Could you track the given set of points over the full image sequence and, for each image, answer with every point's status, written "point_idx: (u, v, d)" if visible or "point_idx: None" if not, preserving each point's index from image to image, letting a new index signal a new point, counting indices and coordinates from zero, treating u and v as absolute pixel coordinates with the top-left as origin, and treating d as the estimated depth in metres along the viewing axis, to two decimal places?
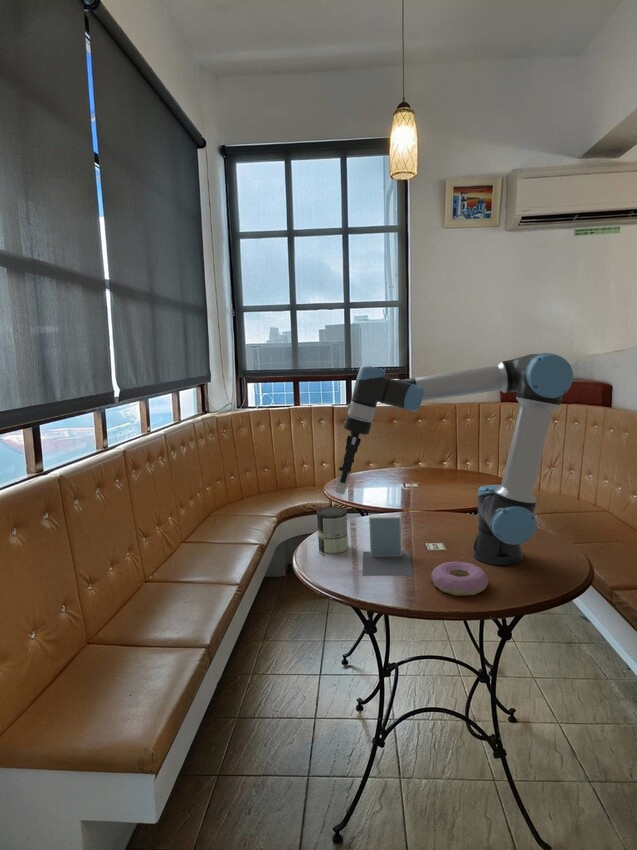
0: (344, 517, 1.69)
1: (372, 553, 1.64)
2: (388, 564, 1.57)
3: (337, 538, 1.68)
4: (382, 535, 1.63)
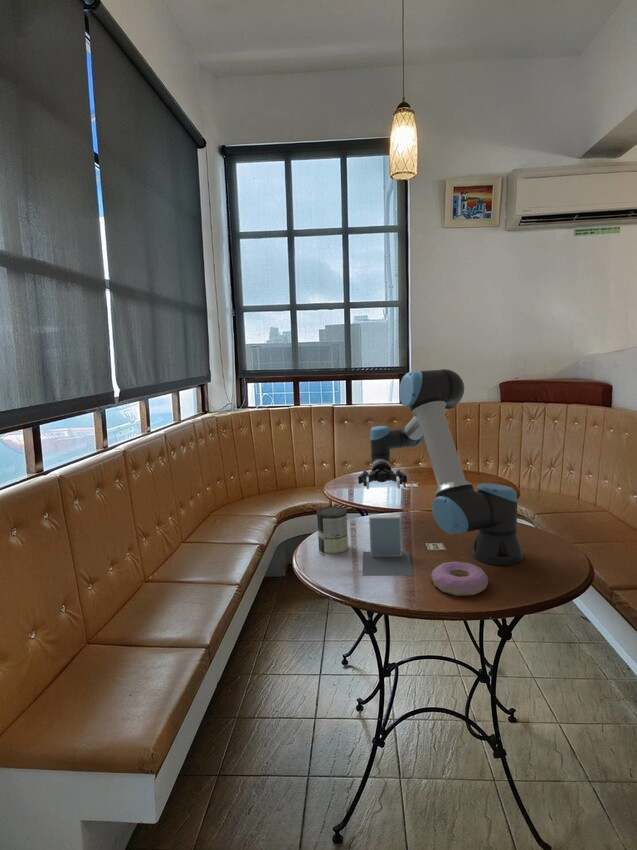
0: (344, 517, 1.69)
1: (372, 553, 1.64)
2: (388, 564, 1.57)
3: (337, 538, 1.68)
4: (382, 535, 1.63)
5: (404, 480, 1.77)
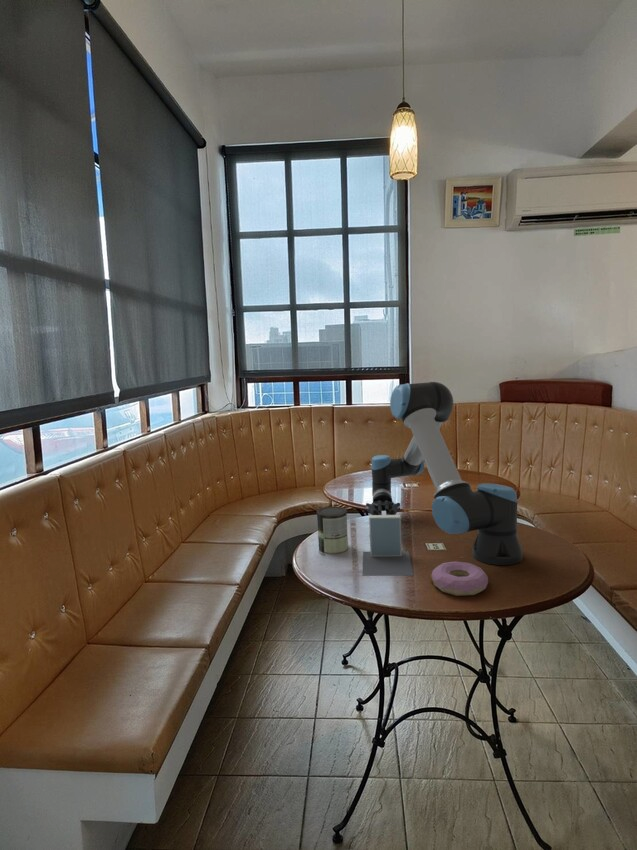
0: (344, 517, 1.69)
1: (372, 553, 1.64)
2: (388, 564, 1.57)
3: (337, 538, 1.68)
4: (382, 535, 1.63)
5: (391, 514, 1.78)
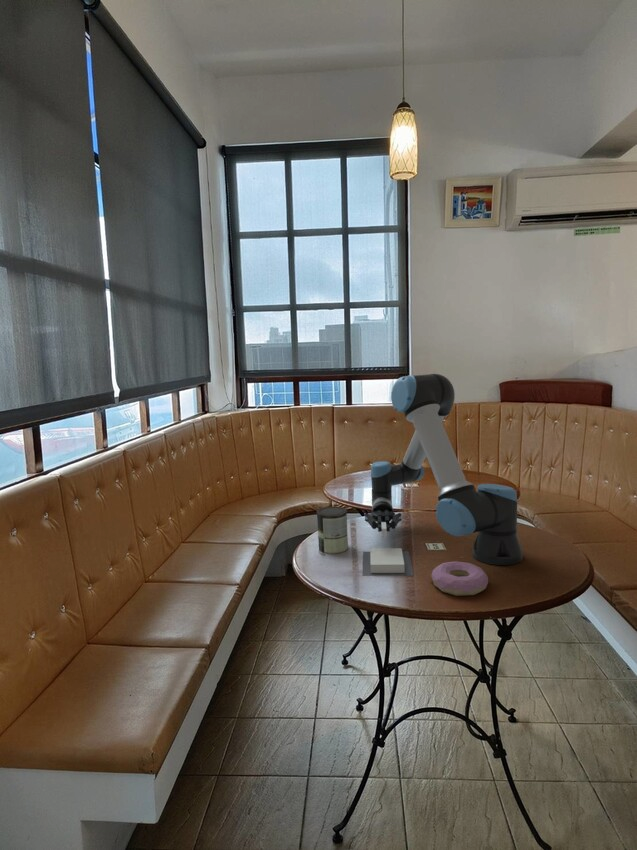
0: (344, 517, 1.69)
1: None
2: None
3: (337, 538, 1.68)
4: None
5: (392, 526, 1.66)
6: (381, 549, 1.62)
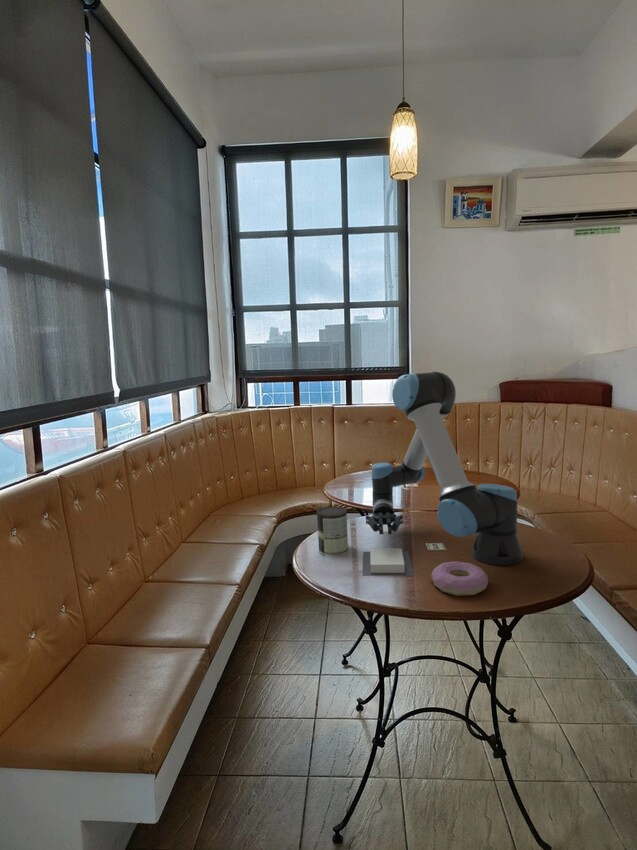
0: (344, 517, 1.69)
1: None
2: None
3: (337, 538, 1.68)
4: None
5: (393, 529, 1.63)
6: (381, 549, 1.62)
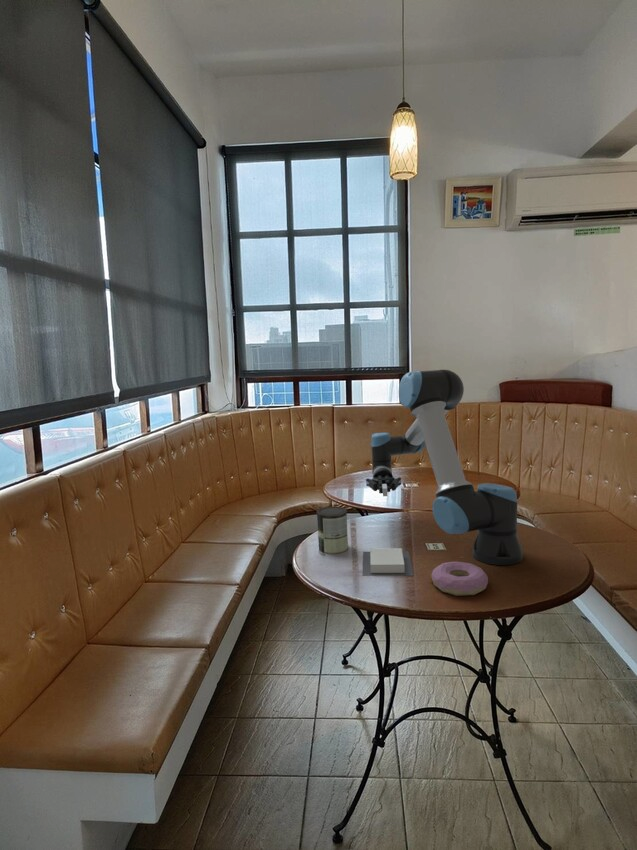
0: (344, 517, 1.69)
1: None
2: None
3: (337, 538, 1.68)
4: None
5: (392, 488, 1.74)
6: (381, 549, 1.62)
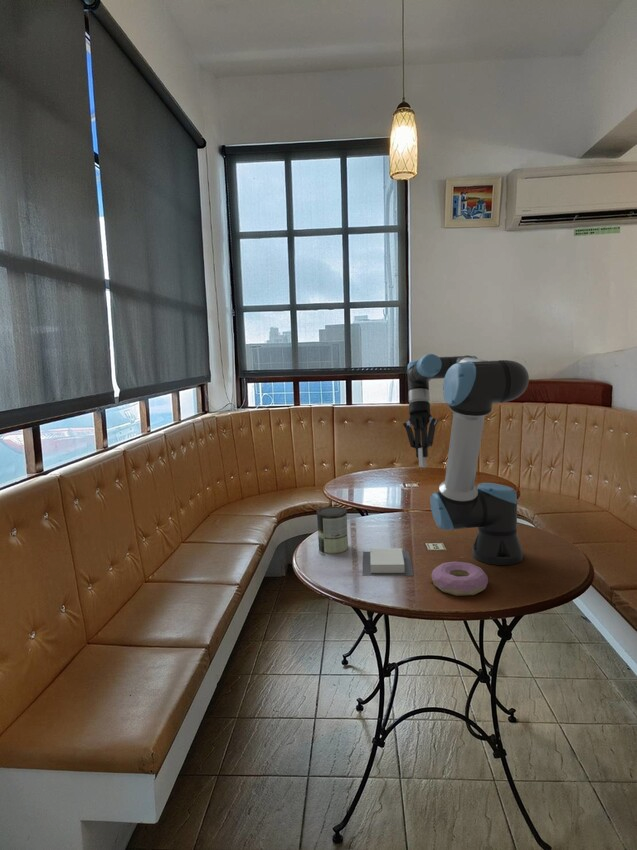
0: (344, 517, 1.69)
1: None
2: None
3: (337, 538, 1.68)
4: None
5: (429, 446, 1.79)
6: (381, 549, 1.62)
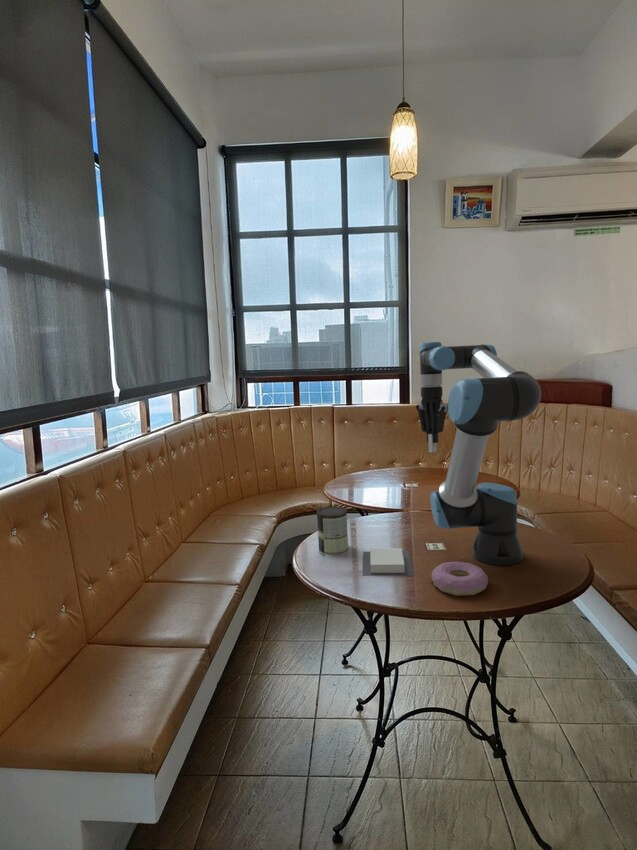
0: (344, 517, 1.69)
1: None
2: None
3: (337, 538, 1.68)
4: None
5: (439, 432, 1.79)
6: (381, 549, 1.62)
